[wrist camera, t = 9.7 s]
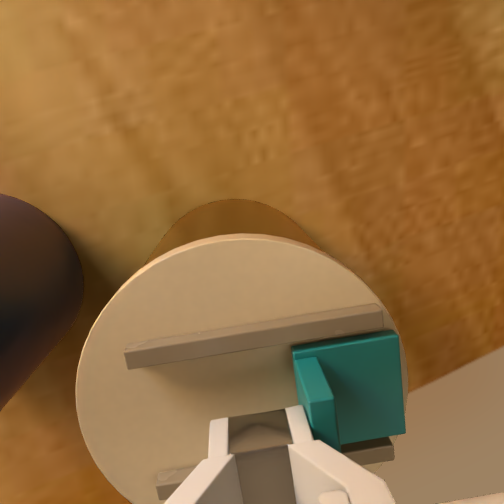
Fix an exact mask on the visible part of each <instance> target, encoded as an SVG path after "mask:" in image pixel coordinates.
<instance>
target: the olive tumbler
mask: <svg viewBox="0 0 504 504" xmlns="http://www.w3.org/2000/svg"><path fill="white" fill-rule="evenodd" d="M386 330H394V331H395V332H396V333H397V334H398V336H399V345H400V359H401V373H402V387H403V401H404V414H405V410H406V402H407V396H408V370H407V363H406V355H405V351H404V348H403V344H402V341H401V338H400V335H399V332H398V330H397V328H396V326H395V324H394V322H393V319H392V317H391V316H390V314H389V313H388V311H387V310H386V308H385V307H384V305H383V303H382V302H381V300H380V299H379V298H378V297H377V296H376V295H375V294H374V292H373V291H372V290H371V289H370V288H369V287H368V286H367V284H365V283H364V282H363V281H362V280H361V279H360V278H359V277H358V276H357V275H356V274H354V273H353V272H352V271H351V270H350V269H349V268H347V267H346V266H345V265H344V264H342V263H341V262H339V261H338V260H336V259H334V258H333V257H331V256H330V255H328V254H327V253H325V252H323V251H322V250H321V249H320V248H319V247H318V246H317V244H316V243H315V242H314V241H313V240H312V239H311V238H310V237H309V236H308V235H307V234H306V233H305V232H304V231H303V230H302V229H301V228H300V227H299V226H298V225H297V224H296V223H295V222H294V221H293V220H292V219H291V218H289V217H288V216H287V215H285V214H284V213H282V212H281V211H279V210H277V209H275V208H273V207H271V206H269V205H266V204H263V203H260V202H256V201H251V200H244V199H229V200H220V201H216V202H211V203H208V204H205V205H203V206H200V207H198V208H196V209H194V210H192V211H190V212H189V213H187V214H186V215H184V216H183V217H182V218H180V219H179V220H178V221H177V222H176V223H175V224H174V225H173V226H172V227H171V228H170V229H169V230H168V231H167V233H166V234H165V235H164V237H163V238H162V239H161V241H160V242H159V244H158V245H157V247H156V248H155V250H154V251H153V252H152V254H151V255H150V257H149V258H148V260H147V261H146V263H145V264H144V266H143V267H142V268H141V269H140V270H138V271H137V272H136V273H135V274H134V275H133V276H132V277H131V278H130V279H128V280H127V281H126V282H125V283H124V284H123V285H122V286H121V287H120V288H119V290H118V291H117V292H116V293H115V295H114V296H113V297H112V298H111V299H110V301H109V302H108V303H107V305H106V306H105V307H104V309H103V310H102V311H101V313H100V315H99V316H98V318H97V320H96V321H95V323H94V325H93V326H92V328H91V330H90V332H89V335H88V337H87V339H86V342H85V344H84V346H83V349H82V353H81V357H80V361H79V365H78V369H77V378H76V388H75V390H76V409H77V414H78V419H79V424H80V429H81V432H82V435H83V437H84V440H85V443H86V446H87V448H88V450H89V452H90V454H91V456H92V458H93V459H94V461H95V463H96V465H97V466H98V468H99V469H100V470H101V472H102V473H103V475H104V476H105V477H106V479H107V480H108V481H109V482H110V483H111V484H112V485H113V486H114V487H115V488H116V489H117V491H118V492H119V493H120V494H121V495H123V496H124V497H125V498H126V499H128V500H129V501H130V502H131V503H133V504H164V503H165V502H166V501H167V499H168V498H169V497H170V496H171V495H172V494H173V493H174V492H175V490H176V489H177V488H178V487H179V486H180V485H181V484H182V482H183V481H184V480H185V479H186V478H187V477H188V476H189V475H190V473H191V472H192V471H193V470H194V469H195V468H196V467H197V466H198V464H199V463H200V462H201V461H202V460H203V459H208V446H209V428H210V422H211V420H215V419H220V418H226V417H228V418H229V417H233V416H240V415H247V414H254V413H261V412H268V411H273V410H279V409H284V408H288V407H292V406H297V405H299V404H298V397H297V389H296V382H295V375H294V368H293V360H292V353H291V346H295V345H301V344H307V343H313V342H319V341H325V340H331V339H338V338H344V337H350V336H356V335H362V334H368V333H374V332H380V331H386ZM396 438H397V435H394V436H388V437H382V438H376V439H371V440H365V441H359V442H353V443H347V444H342V445H341V453H342V454H343V455H345V456H346V457H348V458H349V459H351V460H353V461H354V462H356V463H357V464H359V465H361V466H362V467H364V468H365V469H367V470H369V471H370V472H372V473H373V474H375V472H376V471H377V470H378V468H379V467H380V466H381V465H382V463H383V462H385V461H391V460H394V446H393V444H394V442H395V440H396Z"/></svg>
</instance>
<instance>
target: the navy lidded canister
mask: <svg viewBox="0 0 504 504" xmlns="http://www.w3.org/2000/svg"><path fill="white" fill-rule="evenodd" d="M83 289H84V287H83V274H82V269H81V265H80V262H79V259H78V256H77V254H76V252H75V249H74V247H73V245H72V244H71V242H70V241H69V239H68V237H67V236H66V235H65V233H64V232H63V231H62V230H61V229H60V227H59V226H58V225H57V224H56V223H55V222H54V221H53V220H52V219H51V218H49V217H48V216H47V215H46V214H44V213H43V212H42V211H40V210H39V209H37V208H35V207H34V206H32V205H30V204H28V203H26V202H24V201H22V200H19V199H17V198H14V197H11V196H7V195H4V194H0V411H1V410H2V408H3V407H4V406H5V405H6V404H7V403H8V401H9V400H10V399H11V398H12V397H13V396H14V394H15V393H16V392H17V391H18V390H19V389H20V387H21V386H22V385H23V384H24V383H25V382H26V380H27V379H28V378H29V377H30V376H31V374H32V373H33V372H34V371H35V370H36V369H37V367H38V366H39V365H40V364H41V363H42V362H43V360H44V359H45V358H46V357H47V356H48V355H49V353H50V352H51V351H52V350H53V349H54V347H55V346H56V345H57V344H58V343H59V342H60V340H61V339H62V338H63V337H64V336H65V335H66V333H67V332H68V331H69V330H70V328H71V327H72V325H73V323H74V322H75V320H76V318H77V316H78V313H79V311H80V307H81V303H82V299H83Z"/></svg>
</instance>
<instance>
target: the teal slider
mask: <svg viewBox="0 0 504 504" xmlns="http://www.w3.org/2000/svg"><path fill="white" fill-rule="evenodd" d="M291 353H292V360H293V368H294V375H295V382H296V389H297V397H298V404H299V405H303V406H304V409H305V412H306V415H307V419H308V422H309V425H310V428H311V431H312V435H313V438H314V440H321V441H322V442H324V443H325V444H327V445H329V446H330V447H332V448H333V449H335V450H337V451H338V452H340V453H341V445H342V444H347V443H353V442H359V441H365V440H371V439H376V438H382V437H388V436H394V435H399V434H405V433H406V429H405V416H404V401H403V387H402V373H401V359H400V345H399V336H398V334H397V333H396V332H395V331H394V330H386V331H380V332H374V333H368V334H362V335H356V336H350V337H344V338H338V339H331V340H325V341H319V342H313V343H307V344H301V345H295V346H291ZM341 454H342V453H341Z"/></svg>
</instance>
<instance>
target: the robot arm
mask: <svg viewBox="0 0 504 504" xmlns="http://www.w3.org/2000/svg"><path fill="white" fill-rule="evenodd" d="M164 504H396V503H395V501H394V499H393V497H392V495H391V493H390V490H389V488H388V486H387V484H386V482H385V480H383V479H381V478H380V477H378V476H377V475H375V474H373V473H372V472H370V471H369V470H367V469H365V468H364V467H362V466H361V465H359V464H357V463H356V462H354V461H353V460H351V459H349V458H348V457H346V456H345V455H343V454H341V453H340V452H338V451H337V450H335V449H333V448H332V447H330V446H329V445H327V444H325V443H324V442H322V441H321V440H314V438H313V435H312V431H311V428H310V425H309V422H308V419H307V415H306V412H305V409H304V406H303V405H297V406H292V407H288V408H284V409H279V410H273V411H268V412H261V413H254V414H247V415H240V416H233V417H229V418H228V417H226V418H220V419H215V420H211V422H210V428H209V446H208V459H203V460H202V461H201V462H200V463H199V464H198V466H197V467H196V468H195V469H194V470H193V471H192V472H191V473H190V475H189V476H188V477H187V478H186V479H185V480H184V481H183V482H182V484H181V485H180V486H179V487H178V488H177V489H176V490H175V492H174V493H173V494H172V495H171V496H170V497H169V498H168V499H167V501H166V502H165V503H164ZM437 504H504V492H500V493H494V494H489V495H483V496H477V497H471V498H466V499H460V500H454V501H449V502H443V503H437Z"/></svg>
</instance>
